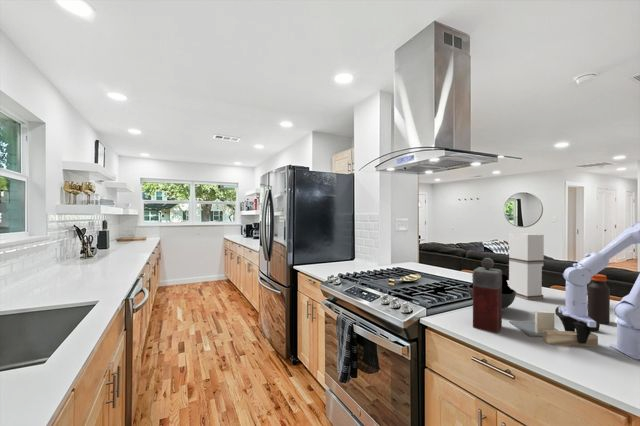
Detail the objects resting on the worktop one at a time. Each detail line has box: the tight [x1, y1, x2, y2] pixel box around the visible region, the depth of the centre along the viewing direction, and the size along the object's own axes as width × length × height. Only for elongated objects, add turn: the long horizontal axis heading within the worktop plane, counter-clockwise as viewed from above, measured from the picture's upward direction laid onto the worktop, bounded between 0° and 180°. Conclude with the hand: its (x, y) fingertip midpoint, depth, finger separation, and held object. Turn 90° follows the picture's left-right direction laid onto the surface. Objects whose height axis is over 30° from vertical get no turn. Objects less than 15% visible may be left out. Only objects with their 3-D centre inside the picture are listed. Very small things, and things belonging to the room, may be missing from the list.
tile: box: [534, 310, 555, 333], centre depth 108 cm, size 2×6×8 cm, turn 83°
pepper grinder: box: [472, 257, 503, 334], centre depth 116 cm, size 9×11×28 cm
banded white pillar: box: [508, 232, 545, 301], centre depth 159 cm, size 11×11×35 cm
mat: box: [509, 320, 560, 338], centre depth 112 cm, size 14×14×1 cm
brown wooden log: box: [554, 306, 601, 333], centre depth 120 cm, size 19×4×5 cm, turn 177°
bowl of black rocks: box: [467, 268, 517, 310], centre depth 137 cm, size 20×20×19 cm
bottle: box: [587, 273, 611, 325], centre depth 122 cm, size 7×7×20 cm
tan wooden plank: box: [542, 330, 599, 347], centre depth 101 cm, size 3×16×4 cm, turn 84°
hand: (575, 339), depth 101 cm, fingers open, 5 cm apart
